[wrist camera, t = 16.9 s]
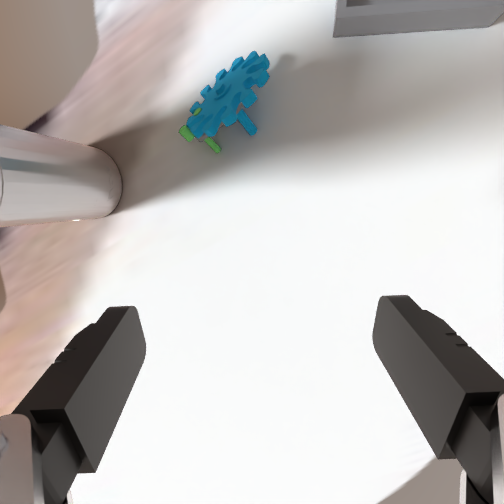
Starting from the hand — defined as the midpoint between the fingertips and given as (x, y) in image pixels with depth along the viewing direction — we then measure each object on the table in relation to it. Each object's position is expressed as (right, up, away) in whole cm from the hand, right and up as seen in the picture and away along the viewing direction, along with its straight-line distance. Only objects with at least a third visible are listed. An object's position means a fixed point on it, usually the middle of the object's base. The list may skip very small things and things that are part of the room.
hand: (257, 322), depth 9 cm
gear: (-2, +18, +22) cm, 28 cm away
